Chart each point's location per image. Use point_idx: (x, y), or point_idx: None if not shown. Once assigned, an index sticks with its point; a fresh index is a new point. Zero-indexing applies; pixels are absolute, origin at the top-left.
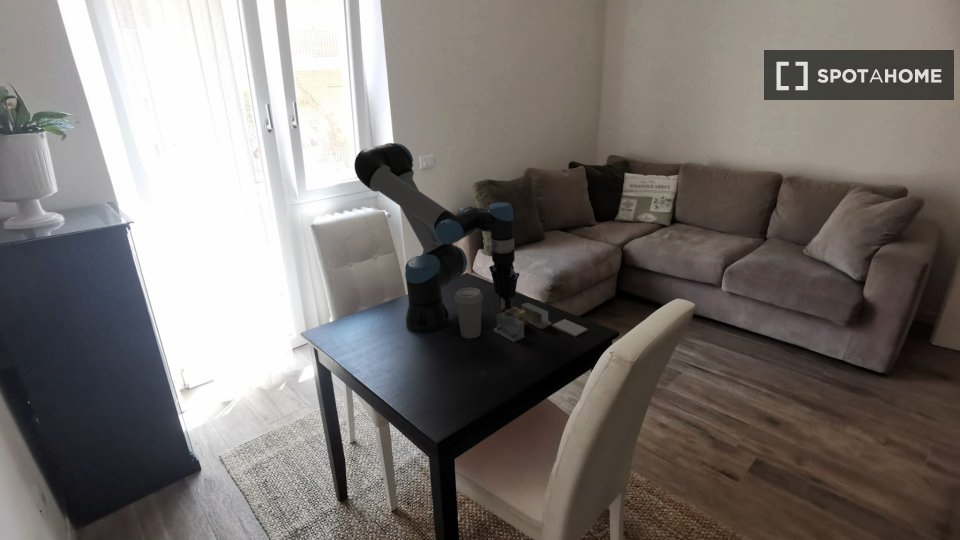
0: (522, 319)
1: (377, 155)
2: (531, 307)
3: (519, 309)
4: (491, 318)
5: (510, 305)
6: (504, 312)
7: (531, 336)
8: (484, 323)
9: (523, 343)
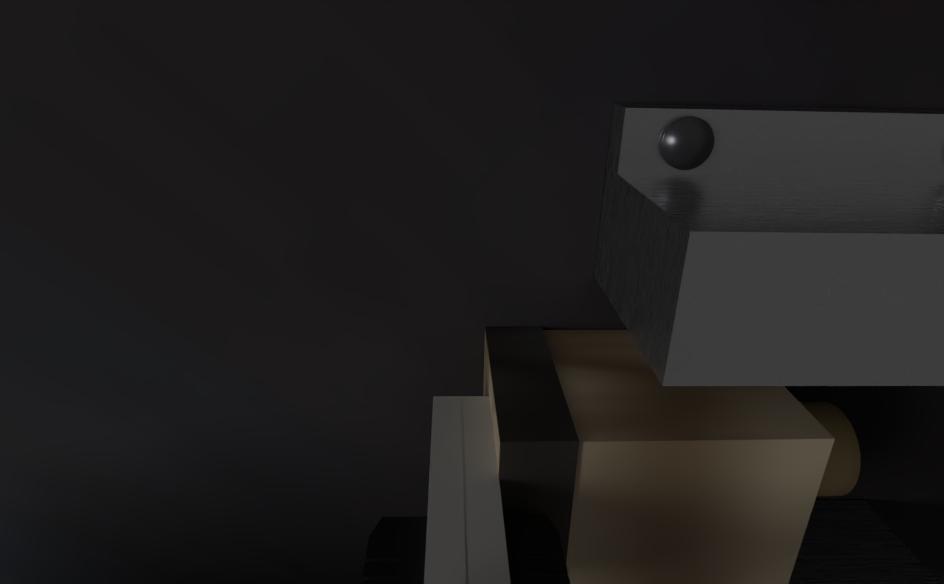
0: (825, 494)
1: None
2: (887, 327)
3: (707, 454)
4: (321, 477)
5: (554, 527)
6: None
7: (917, 446)
8: None
9: None
